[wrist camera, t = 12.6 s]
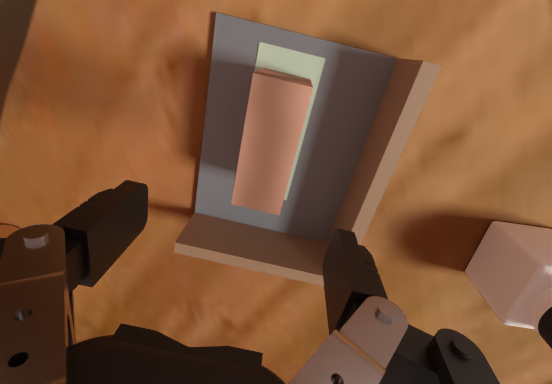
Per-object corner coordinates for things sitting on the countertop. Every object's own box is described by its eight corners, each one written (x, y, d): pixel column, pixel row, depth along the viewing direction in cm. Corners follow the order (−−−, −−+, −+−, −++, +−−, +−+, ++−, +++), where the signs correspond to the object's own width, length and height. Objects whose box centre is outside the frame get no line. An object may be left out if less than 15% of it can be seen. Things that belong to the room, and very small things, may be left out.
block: (310, 79, 24) (313, 87, 18) (283, 183, 28) (279, 215, 23) (263, 67, 24) (253, 72, 18) (244, 174, 28) (230, 204, 23)
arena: (333, 250, 32) (340, 290, 27) (195, 218, 32) (174, 252, 26) (409, 61, 23) (441, 65, 18) (218, 13, 23) (193, 1, 17)
